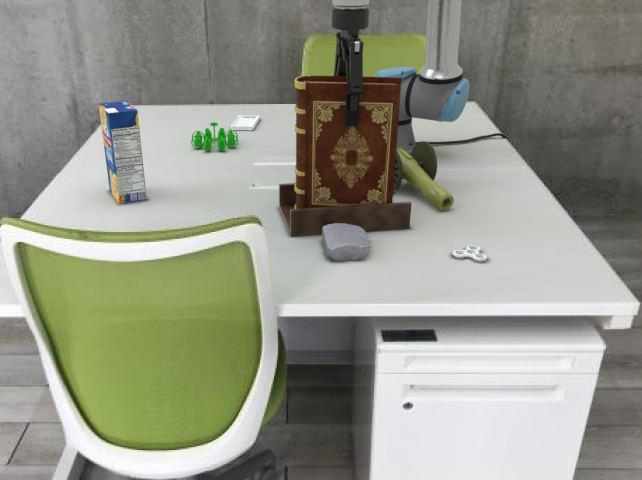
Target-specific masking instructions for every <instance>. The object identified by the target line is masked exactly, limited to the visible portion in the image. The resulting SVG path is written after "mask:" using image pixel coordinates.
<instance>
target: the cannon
mask: <svg viewBox="0 0 642 480" xmlns="http://www.w3.org/2000/svg"><path fill="white" fill-rule="evenodd" d="M417 142H418V143H416V144H415V146H414V147H413V150H412V153H411V155H409V154H408V153H407V152H406V151H405V150H404V149H403V148H398V150H396V161H395V174H394V188H393V193H395V192H397V190H399V188H400V186H401V184H402V182H403V180H404V181H405V182H407V183H408V184H410V185H411V186H413V187H414V188H415V189H416V190H418V191H420V192H421V194H423V195H424V197H425V198H426V199H427V200H428V201H429V202H430V203H432V204H433V205H434V206H435V207H436V208H437V209H438V210H440V211H447V210H448V209H450V208H451V207H452V206H453V204H454V201H455V199H454V197H453V195H452V194H451V193H450V192H449V191H448V190H447V189H446V188H444V187H443V186H442V185H440V183H438V182H437V181H435V179H436V176H437V173H438V159H437V154H436V151H435V149H434V147H433V146H432V144H430V143H428V142H429V141H426V140H422V141H417Z"/></svg>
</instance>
